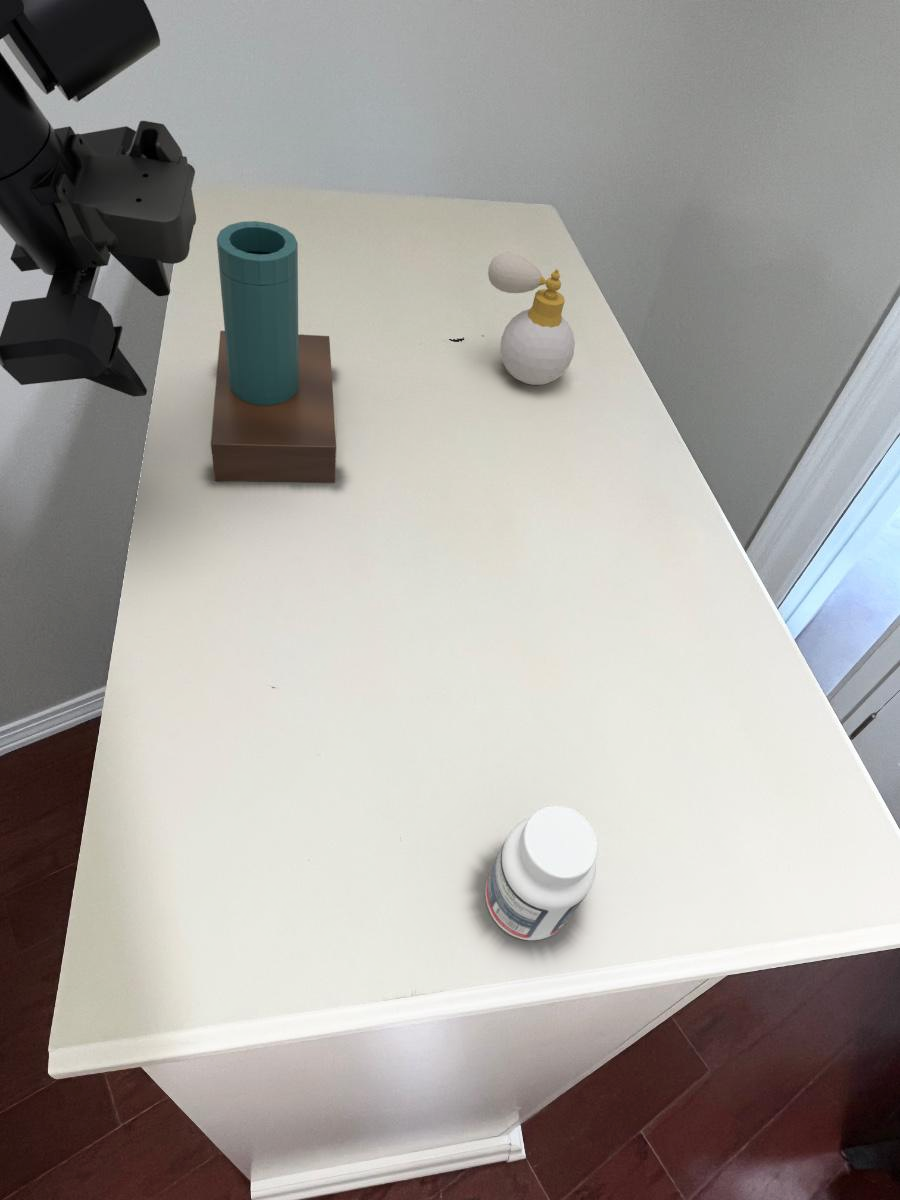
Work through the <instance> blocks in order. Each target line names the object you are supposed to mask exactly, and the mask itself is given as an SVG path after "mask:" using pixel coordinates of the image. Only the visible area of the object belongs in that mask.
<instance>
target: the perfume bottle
mask: <svg viewBox="0 0 900 1200" xmlns="http://www.w3.org/2000/svg"><path fill="white" fill-rule="evenodd" d="M559 272H560V270H559V269H558V268H554V271H553V272H551V274H550V277H549V278H547V279H546V278H544V276H543V274H542V273H541V271H540V269H539V268H538V267H537V266H536V265H535V264H534V263H533V262H532V261H530V260H529V259H527V258H526V257H525V256H522V255H520V254H518V253H514V252H501V253H498V254H497V255H495V256H494V257H493V258H492V260H490V263H489V265H488V271H487V275H488V276H487V277H488V280H489V282H490V284H491V285H492V286H493V287H494V288H495V289H496V290H499V292H503V293H506V294H507V293H508V294H523V293H524V294H525V293H528V292H532V291H533V290H536V289H537V288H540V287H541V286H543V285H545V287H546V288H541V289H538V290H537V291H536V292H535V293H534V298H533V302H532V306H531V307H530V308H527V309H525V310H522V311H521V312H519V313H517V314H516V315H515V316H513V317H512V318H511V319H510V320H509V322H508V323H507V325H506V326H505V327H504V330H503V333H502V335H501V338H500V347H499V348H500V349H499V351H500V357H501V360H502V363H503V365H504V368H506V369H505V370H506V371H507V372H508V373H509V374H510V375H511V376H512V377H513V378H514V379H516V380H518V381H520V382H522V383H524V384H527V385H532V386H539V385H541V386H542V385H546V384H549V383H551V382H554V381H555V380H557V379H559V378H560V377H562V375H563V374H564V373H565V372H566V370H568V368H569V367H570V366H571V365H570V364H571V362H572V360H573V358H574V354H575V346H576V341H575V337H574V332H573V330H572V328H571V326H570V324H569V322H568V321H567V320H566V319H565V318H564V317H563V316H562V313H563V309H564V305H565V296H564V295H563V294H562V293H560V292H559V290H560V289H561V287H562V282H561V281H560V278H561V274H560V273H559Z"/></svg>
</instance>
